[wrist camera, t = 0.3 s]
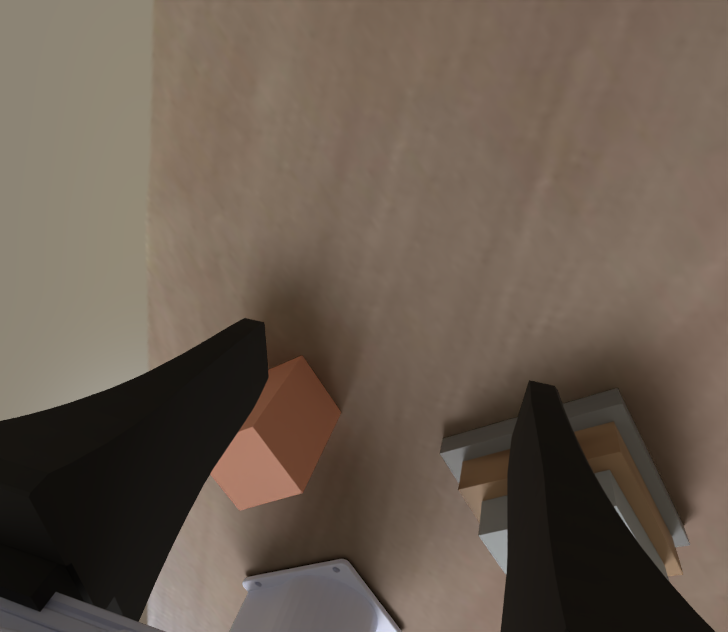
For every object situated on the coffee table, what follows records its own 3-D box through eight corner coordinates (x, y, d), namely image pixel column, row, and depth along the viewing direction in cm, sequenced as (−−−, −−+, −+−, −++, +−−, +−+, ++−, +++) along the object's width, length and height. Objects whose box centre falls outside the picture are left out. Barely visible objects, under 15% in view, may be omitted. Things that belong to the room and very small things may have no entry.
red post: (286, 431, 30) (239, 510, 25) (247, 378, 29) (190, 449, 24) (341, 412, 29) (302, 493, 23) (302, 355, 27) (252, 426, 22)
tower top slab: (538, 585, 26) (539, 622, 24) (481, 501, 25) (478, 535, 23) (664, 565, 23) (675, 606, 22) (609, 469, 22) (616, 505, 20)
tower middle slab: (525, 561, 28) (525, 594, 27) (462, 461, 26) (458, 489, 25) (672, 538, 25) (683, 574, 23) (613, 421, 23) (620, 451, 21)
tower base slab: (514, 542, 31) (514, 571, 29) (444, 428, 28) (439, 453, 27) (679, 512, 27) (690, 544, 25) (614, 377, 24) (622, 403, 23)
